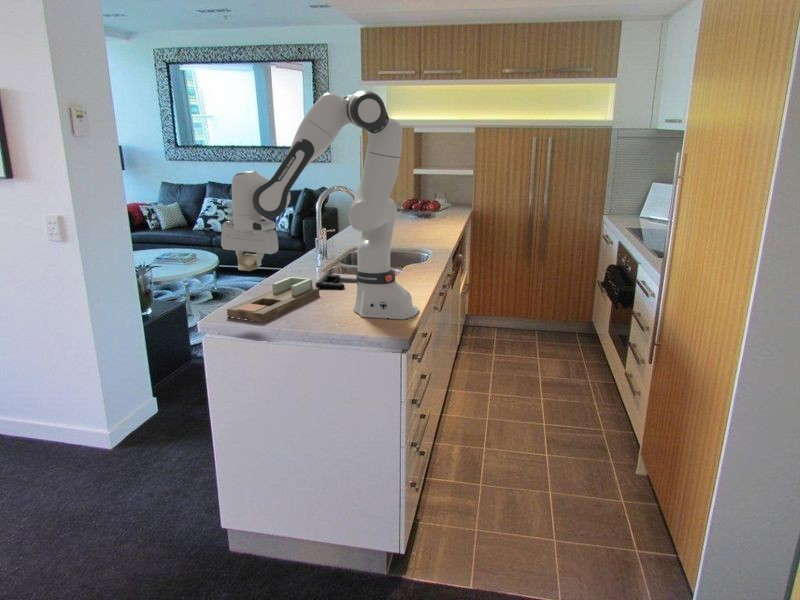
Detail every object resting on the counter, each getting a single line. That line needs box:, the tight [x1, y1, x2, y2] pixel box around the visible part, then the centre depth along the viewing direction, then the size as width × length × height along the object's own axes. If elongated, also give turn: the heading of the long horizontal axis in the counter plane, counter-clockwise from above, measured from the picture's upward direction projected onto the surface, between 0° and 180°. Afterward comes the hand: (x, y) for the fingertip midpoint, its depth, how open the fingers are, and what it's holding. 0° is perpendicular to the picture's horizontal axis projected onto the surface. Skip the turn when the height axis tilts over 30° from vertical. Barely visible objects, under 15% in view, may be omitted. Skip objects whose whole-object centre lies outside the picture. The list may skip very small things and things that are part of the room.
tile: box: [237, 304, 267, 312], centre depth 192 cm, size 7×7×1 cm
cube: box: [236, 253, 259, 272], centre depth 188 cm, size 4×4×4 cm
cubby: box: [271, 276, 314, 296], centre depth 214 cm, size 10×12×4 cm
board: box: [226, 286, 320, 323], centre depth 205 cm, size 14×36×3 cm, turn 158°
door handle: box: [315, 271, 357, 290], centre depth 237 cm, size 3×20×16 cm
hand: (250, 264), depth 189 cm, fingers closed on cube, 4 cm apart
